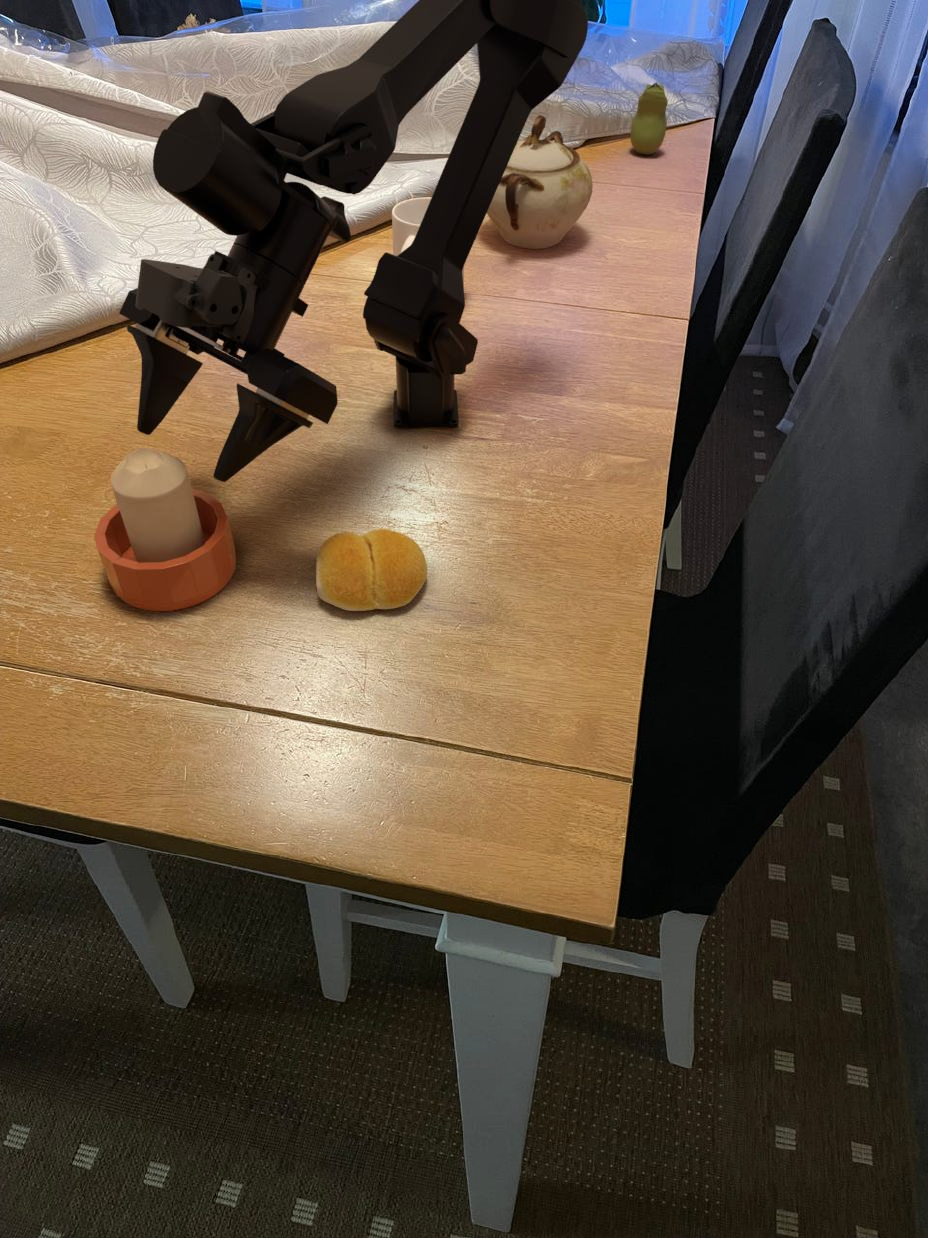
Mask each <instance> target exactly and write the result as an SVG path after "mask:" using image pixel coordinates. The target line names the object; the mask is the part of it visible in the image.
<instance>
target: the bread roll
mask: <svg viewBox="0 0 928 1238" xmlns="http://www.w3.org/2000/svg"><path fill="white" fill-rule="evenodd" d="M315 558H316V563H315V585H316V586H315V587H316V592H317V593H316V594H317V596H318V597H319V598H320V600H322V601H323V602H325V603H327V604H329V605H332V606H334V607H337V608H338V609H341V610H345V611H349V612H363V611H364V612H365V611H373V610H377V609H378V610H391V609H398V608H401V607H404V606H406V605H408V604H409V603H410V602H412V600H413V599H414V598H415V597H416V595H417V594H419V591H420V590H422V588H423V586H424V584H425V582H426V581H427V580H426V579H427V576H428V564H427V560H426V556H425V553H424V551H423V550H422V548H421V547H420V545H419V544H418V543H417V542H416V541H415V540H414V539H412V538H411V537H410V536H408V535H406V534H404V533H401V532H398V531H395V530H391V529H387V528H379V529H372V530H370V531H367V532H366V533H363V534H357V533H354V532H347V531H346V532H344V531H343V532H338V533H335V534H333V535H332V536H330V537H329V538H327V539H326V540H325V541H323V543H322V544H321V546H320V548H319V550H318V553H317V555H316V557H315Z"/></svg>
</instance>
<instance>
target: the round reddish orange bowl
mask: <svg viewBox="0 0 928 1238" xmlns="http://www.w3.org/2000/svg"><path fill="white" fill-rule="evenodd" d="M192 492H193V496H194V500H195V504H196V508H197V512H198V516H199V520H200V524H201V528H202V532H203V536H204V540H205V544H204V545H203V546H202V547H200V548H198V549H196V550H195V551H193V552H191V553H189V554H188V555H186V556H183V557H180V558H176V559H172V560H168V561H165V562H142V563H139V562H137V561H136V558H135V555H134V552H133V549H132V546H131V543H130V540H129V537H128V534H127V531H126V528H125V525H124V522H123V519H122V516H121V513H120V510H119V507H118V504H117V503H116V504H114V505H113V506H112V507H111V508H110V509H109V510H108V511H107V512H106V513H105V514H104V515H102V516H101V518H100V519H99V521H98V524H97V527H96V529H95V532H94V535H93V537H94V541H95V545H96V549H97V552H98V555H99V557H100V561H101V563H102V566H103V567H104V571H105V573H106V576H107V580H108V582H109V585H110V586H111V588H112V590H113V592H114V594H115V595H116V596H117V597H118V598H119V599H120V600H122V601H123V602H124V603H126V604H128V605H130V606H132V607H134V608H137V609H140V610H144V611H151V612H170V611H171V612H172V611H178V610H179V611H180V610H183V609H188V608H190V607H193V606H197V605H198V604H201V603H203V602H205V601H207V600H209V599H211V598H212V597H214V596H215V595H217V594H218V593H219V592H220V591H222V590H223V589H224V588H225V586H226V585H227V584H229V582H230V580H231V579H232V578H233V575H234V572H235V570H236V567H237V556H236V548H235V542H234V538H233V534H232V529H231V524H230V521H229V516H228V514H227V511H226V509H225V507H224V505H223V503H222V502H221V501H219V499H216V498H215V497H214V496H212V495H211V494H210V493H208V492H206V491H202V490H198V489H194V488H192Z"/></svg>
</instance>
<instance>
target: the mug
mask: <svg viewBox="0 0 928 1238" xmlns="http://www.w3.org/2000/svg"><path fill="white" fill-rule="evenodd" d="M431 198H432V196H431V197H428V196H427V197H425V196H424V197H414V198H409V199H405V200H403V201H400V202H399V203H397V204H395V205H394V206H393V208H392V210H391V226H392V227H391V229H392V230H391V231H392V255H395V256H398V255H399V254H400V253H401V252H403V251H404V250H405V249H406V248H408V247H409V246H410V245H411V244H412V242H413V241H414V238H415V236H416V234H417V231H418V229H419V227H420V224H421V222H422V219H423V217H424V215H425V212H426V210H427V207H428V205H429V203H430V200H431ZM462 275H463V286H464V287H465V266H464V267H463V270H462Z"/></svg>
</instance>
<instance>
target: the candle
mask: <svg viewBox="0 0 928 1238" xmlns="http://www.w3.org/2000/svg"><path fill="white" fill-rule="evenodd" d="M109 481H110V485H111V486H110V487H111V489H112V491H113V495H114V498H115V502H116V504H118V507H119V510H120V513H121V516H122V519H123V522H124V525H125V528H126V531H127V534H128V537H129V540H130V543H131V546H132V549H133V552H134V555H135V558H136V561H137V562H139V563H142V562H165V561H168V560H172V559H176V558H180V557H183V556H186V555H188V554H189V553H191V552H193V551H195V550H196V549H198V548H200V547H202V546H203V545H204V544H205V540H204V536H203V532H202V528H201V524H200V520H199V516H198V512H197V508H196V504H195V500H194V496H193V492H192V489H193V488H192V484H191V480H190V477H189V473H188V467H187V466H186V463H184V462H183V460H182V459H180V458H179V457H177V456H174V455H173V454H170V453H167V452H164V451H160V450H157V449H154V448H151V447H145V446H143V447H142V446H141V447H139V448H137V449H135V450H133V451H131V452H129V453H127V454H126V456H125V457H124V458H123V459H122V460H121V461H120V463H119V464H118V465H117V466H116V468H115V469H114V470H113V471H112V473H111V476H110V480H109Z"/></svg>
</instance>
